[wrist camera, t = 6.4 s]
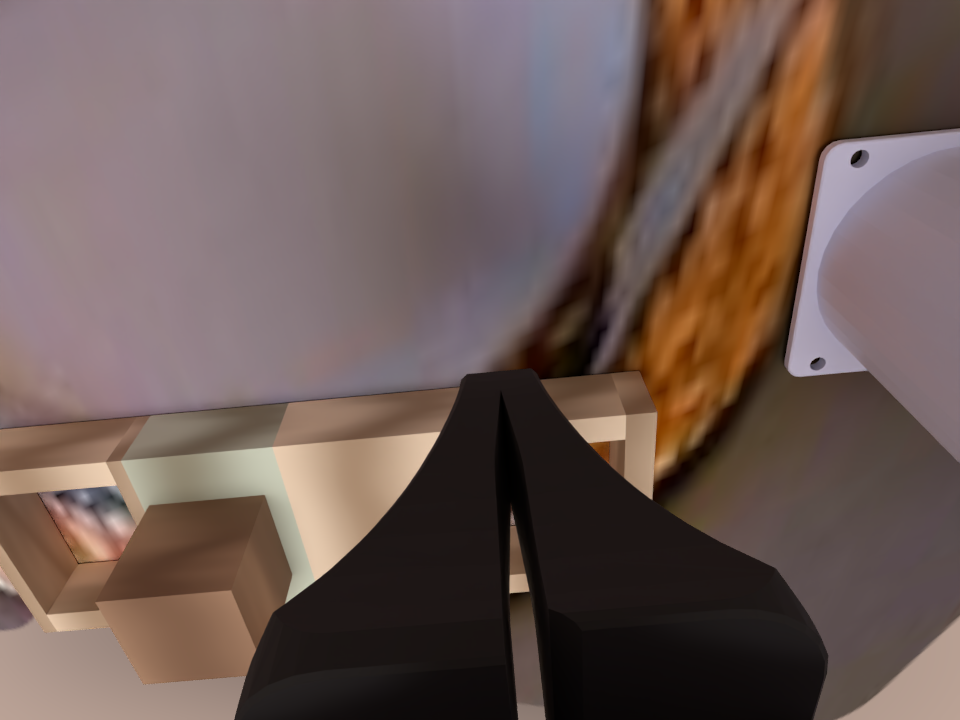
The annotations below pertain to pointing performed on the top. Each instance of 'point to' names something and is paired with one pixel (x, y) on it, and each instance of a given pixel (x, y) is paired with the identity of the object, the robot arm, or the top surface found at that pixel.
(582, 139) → the top surface
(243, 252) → the top surface
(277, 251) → the top surface
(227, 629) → the walnut block
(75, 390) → the top surface
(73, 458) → the frame
